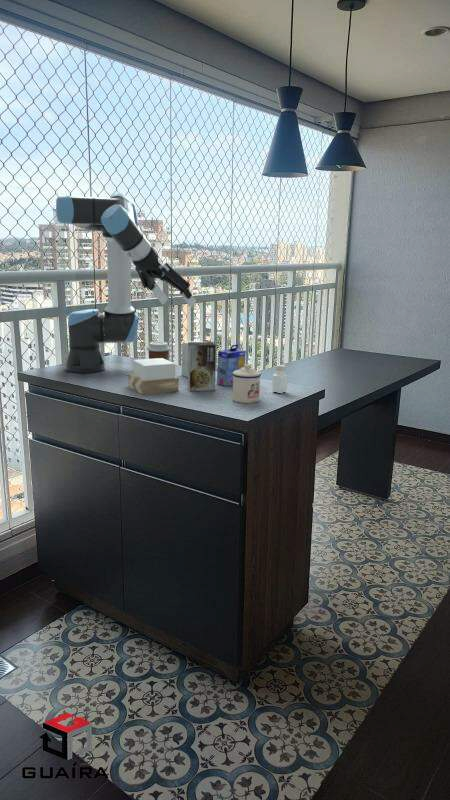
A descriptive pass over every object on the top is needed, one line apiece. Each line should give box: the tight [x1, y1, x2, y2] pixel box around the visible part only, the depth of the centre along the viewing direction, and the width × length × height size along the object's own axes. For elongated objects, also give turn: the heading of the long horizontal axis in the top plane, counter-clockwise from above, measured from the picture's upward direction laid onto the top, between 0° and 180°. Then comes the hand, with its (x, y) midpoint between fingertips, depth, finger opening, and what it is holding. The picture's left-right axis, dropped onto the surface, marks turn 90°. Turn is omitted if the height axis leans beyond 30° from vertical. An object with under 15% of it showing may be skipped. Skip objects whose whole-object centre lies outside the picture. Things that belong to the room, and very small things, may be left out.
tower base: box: [128, 372, 180, 396], centre depth 192 cm, size 13×13×5 cm
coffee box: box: [187, 341, 217, 392], centre depth 192 cm, size 9×6×16 cm
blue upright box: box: [216, 344, 247, 387], centre depth 202 cm, size 10×6×14 cm, turn 137°
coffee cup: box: [146, 341, 171, 361], centre depth 215 cm, size 9×9×12 cm
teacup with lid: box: [232, 363, 262, 404], centre depth 181 cm, size 12×9×12 cm
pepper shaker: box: [271, 364, 288, 394], centre depth 191 cm, size 4×4×10 cm
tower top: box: [132, 358, 176, 381], centre depth 190 cm, size 11×11×5 cm
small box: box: [181, 340, 203, 378], centre depth 213 cm, size 8×6×13 cm
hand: (179, 302), depth 180 cm, fingers open, 13 cm apart
